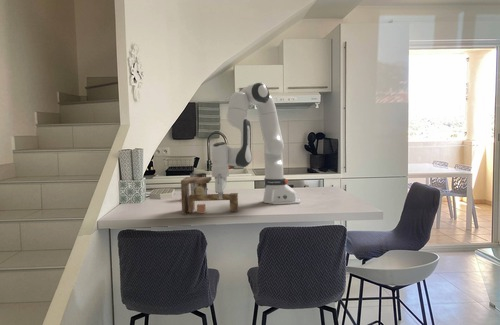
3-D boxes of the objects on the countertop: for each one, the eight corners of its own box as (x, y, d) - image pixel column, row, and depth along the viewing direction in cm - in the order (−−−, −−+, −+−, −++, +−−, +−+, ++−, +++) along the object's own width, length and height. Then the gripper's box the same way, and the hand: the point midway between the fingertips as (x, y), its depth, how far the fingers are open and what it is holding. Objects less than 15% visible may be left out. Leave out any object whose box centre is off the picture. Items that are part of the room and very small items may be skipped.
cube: (205, 211, 218) (205, 204, 218) (204, 212, 214) (204, 205, 214) (198, 211, 218) (198, 204, 218) (197, 213, 214) (196, 205, 214)
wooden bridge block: (238, 207, 220) (237, 192, 219) (237, 211, 211) (236, 195, 210) (192, 209, 221) (191, 193, 220) (189, 212, 212) (188, 196, 211)
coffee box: (203, 196, 263) (203, 172, 262) (207, 198, 258) (206, 173, 256) (190, 198, 259) (189, 173, 258) (193, 199, 253) (193, 174, 252)
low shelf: (212, 209, 223) (211, 176, 222) (208, 214, 209) (207, 180, 208) (187, 209, 224) (186, 177, 222) (182, 214, 210) (180, 180, 208)
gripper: (224, 175, 204) (225, 202, 205) (227, 170, 224) (228, 195, 225) (211, 175, 204) (212, 202, 205) (216, 170, 224) (217, 195, 226)
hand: (221, 198), depth 215 cm, fingers closed on wooden bridge block, 2 cm apart
